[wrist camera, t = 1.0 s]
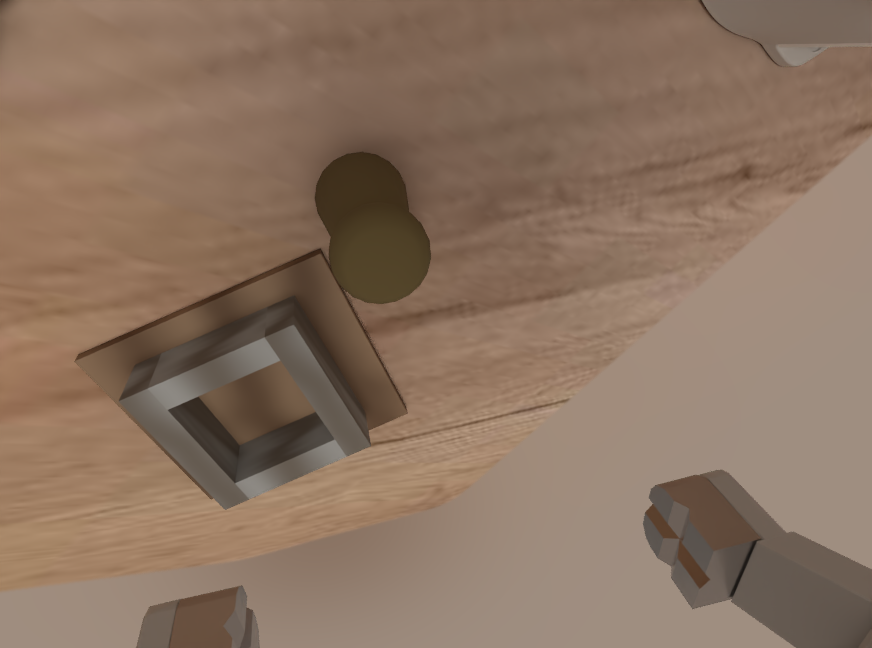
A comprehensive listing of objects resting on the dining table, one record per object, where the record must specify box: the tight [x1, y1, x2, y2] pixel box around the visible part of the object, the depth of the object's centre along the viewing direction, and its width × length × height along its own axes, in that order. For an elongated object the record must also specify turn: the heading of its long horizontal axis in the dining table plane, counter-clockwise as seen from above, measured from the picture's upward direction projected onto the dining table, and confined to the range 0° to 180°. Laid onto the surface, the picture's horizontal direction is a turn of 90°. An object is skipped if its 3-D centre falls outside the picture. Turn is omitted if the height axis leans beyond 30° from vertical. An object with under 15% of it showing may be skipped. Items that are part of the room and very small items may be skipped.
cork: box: [315, 152, 431, 304], centre depth 30 cm, size 6×6×11 cm
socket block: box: [74, 249, 407, 510], centre depth 38 cm, size 18×16×5 cm
